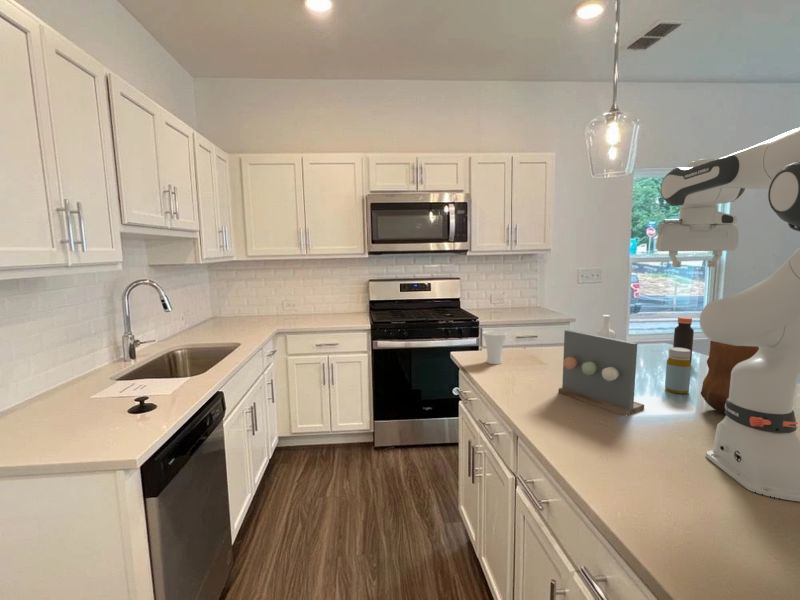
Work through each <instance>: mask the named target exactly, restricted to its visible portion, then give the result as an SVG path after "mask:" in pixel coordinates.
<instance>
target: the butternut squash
mask: <svg viewBox="0 0 800 600" xmlns="http://www.w3.org/2000/svg"><path fill="white" fill-rule="evenodd" d="M759 348H760V347H758V346H734V345H729V344H723V343H719V342H714V341H711V340H710V342H709V353H708V354H709V356H708V358H707V360H706V365H707V367H708V370H707V374H706V376H705V377H704V380H703V381H702V385H701V386H702V387H701V391H700V395H701V397H702V398H703V399H704V401H705V402H706V404H707V405H708V406H710V407H711V408H712V409H713V410H716V411H718V412H721V413H723V414H725V403H726V399H727V398H729V389H730V379H731V371H732V369H733V368H734V366H735V365H737V364H738V363H740V362H742V361H744V360H747V359H749V358H751V357H752V356H753V355H754V354H756V352H757V351H758V350H759Z"/></svg>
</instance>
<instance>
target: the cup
mask: <svg viewBox="0 0 800 600" xmlns="http://www.w3.org/2000/svg"><path fill="white" fill-rule="evenodd" d="M482 335H483V339H484V342H485V346H486V347H485V348H486V353H487V357H486V363H487V364H491V365H500V364H502V362H503V361H502V353H503V352H502V351H503V347H504V344H505V340H506V337H507V335H508V332H506V331H503V330H496V329H495V330H494V329H493V330H491V329H490V330H488V329H487V330H483V331H482Z"/></svg>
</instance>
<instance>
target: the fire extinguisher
mask: <svg viewBox="0 0 800 600" xmlns="http://www.w3.org/2000/svg"><path fill="white" fill-rule="evenodd" d="M601 317H602V319H603V322H602V328H601V329H598V331H597V332H596V335H598V336H603V337H608V338H614V339H617V338H616V333H615V330H613V329H611V323H610V322H611V315H609V314H602V316H601Z"/></svg>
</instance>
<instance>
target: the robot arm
mask: <svg viewBox="0 0 800 600" xmlns="http://www.w3.org/2000/svg"><path fill="white" fill-rule="evenodd" d="M746 189H752V190H768V195H767V198H768V203H769V205H770V208H771V209H772V210H773V212H774V213H775V214H776V216H778V217H779V218H780V220H782V221H784V222H786V223H787V225H788V227H789V228H790V229H792V230H794V231H796V232H799V233H800V127H797V128H794V129H792V130H788V131H787V132H784V133H781V134H778V135H777V136H775V137H773V138H770V139H768V140H765V141H763V142H760V143H757V144H755V145H753V146H750V147H748V148H745V149H743V150H739V151H737V152H733V153H731V154H729V155H726V156H722V157H720V158H713V157H707V158H706V157H704V158H700V159H696V160H693V161H691V162H690V163H688V164H687V165H686V166H683V167H682V166H681V167H680V166H679V167H678V166H677V167H674V168H673V169H672V170H670V171H669V172H668V173H667V174H666V175H665V176H664V178H663V179H662V181H661V185H660V195H661V197H662V199H663V200H664V201H665V202H666V203H667V204H668V205H670V206H672V207H679V206H680V207H679V216H678V217H679V218H678V219H677V218H675V219H664V220H662V221H661V222H660V223H658V225H657V232H658V233H657V236H656V237H657V238H656V243H655V244H656V245H655V249H656V250H657V251H658V252H668V257H669V258H670V260H671V261H672V266H671V267H673V268H681V266H682V265H681V264H682V261H681V260H678V258H677V256H678V253H679V252H712V255H713V256H712V258H711V259H710V260H707V267H708V268H716V267H717V265H718V261H719V260H720V259H721V257H722V256H723V252H726V251H727V252H733V251H735V250H736V249H737V248H738V246H739V228H738V226H736V225H735V224H737V222H738V217H737V216H736V215H732V214H730V213H726V212H725V213H724V212H722V211H719V210H718V209H719V206H718V204H721V205H723V204H728V203H733V202H735V201H736V200H738V199H739V198H740V197H741V196H742V195H743V193H744V192H745V190H746ZM699 326H700V329H701V331H702V333H703V334H704V336H705V337H706V338H707V339H708V340H709V341H710V342H711V341H714V342H719V343H723V344H729V345H734V346H758V347H759V350H758V351H757V352H756V354H754V355H753V356H752V357H751V358H749V359H747V360H744V361H742V362H740V363H738V364H737V365H735V366H734V368H733V369H732V371H731V379H730V389H729V398H727V399H726V403H725V413H724V414H725V416H724V418H723V419H722V420H721V421H720V422H718V424H716V429H715V435H714V439H713V443H712V444H713V447H712V449H711V450H707V451H706V453H705V457H706V458H707V459H708V460H709V461H711V462H712V463H713V464H715V465H716V466H717V467H719V469H721V470H722V471H723V472H725V473H726V474H727V475H728V476H730V477H731V478H732V479H733V480H735V481H736V482H737V483H739V484H740V485H741V486H742V487H744V488H745V489H747V490H748V491H750V492H752V493H755V492H756V494H759V495H762V494H763V495H762V496H766V497H770V496H771V497H770V498H774V497H775V499H779V498H780V499H781V500H787V501H793V502H800V438H799V436H798V434H797V429H798V426H797V425H798V424H799V423H798V422H797V418H796V415H795V411H794V410H793V406H794V399H795V394H796V387H797V383H798V380H799V377H800V246H799V247H798V248H797V249H796V250H795V251H794V252H793V253H792V254H791V255H790V256H789V257H788V258H787V259H786V260H785V261H784V262H783V263H782V264H781V265H780V266H779V267H778V268H777V269H776V270H775V271H774V272H773V273H772V274H771V275H769V276H768V277H766V278H765V279H763V280H761V281H760V282H758V283H756V284H754V285H752V286H749V287H748V288H746V289H744V290H742V291H739V292H738V293H735V294H732V295H730V296H727V297H724V298H719V299H715V300H712V301H709V302H708V303H707V304H706V305H705V306H704V307H703V308H702V310H701V313H700V315H699Z"/></svg>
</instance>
